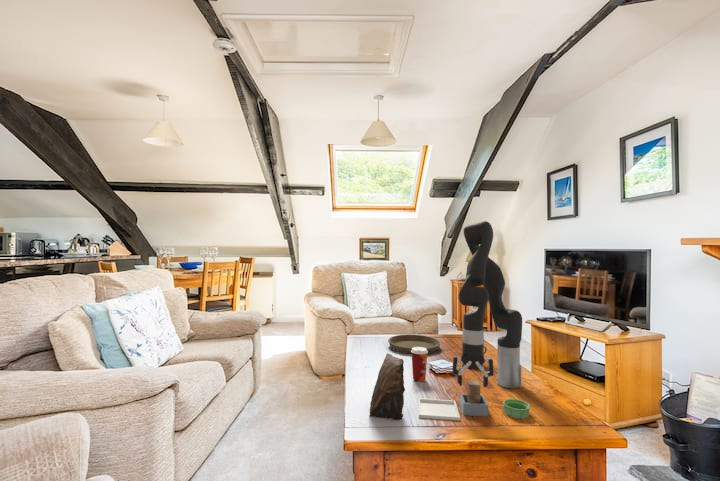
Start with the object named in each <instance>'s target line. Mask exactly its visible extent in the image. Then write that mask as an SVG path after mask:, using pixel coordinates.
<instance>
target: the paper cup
mask: <svg viewBox="0 0 720 481" xmlns="http://www.w3.org/2000/svg"><path fill="white" fill-rule="evenodd" d="M411 352H412V354H411V363H412V365H411V366H412V368H411V369H412V380H413V381H415V382H418V383H421V382H425V381H426V378H427V360H428V354H429V353H428V351H427V349H426V348H423V347H413V348H412V350H411Z"/></svg>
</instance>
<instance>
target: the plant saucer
mask: <svg viewBox="0 0 720 481" xmlns="http://www.w3.org/2000/svg"><path fill="white" fill-rule="evenodd" d="M388 344H389V345H390V346H391V348H392V349H393V350H395V351H396V352H399V353H402V352H403V353H404V354H409V355H412V352H411V350H412V348H413V347H423V348H426V349H427V351H428V353H427V354H431V353H434V352H436V351H437V349H439V347H440V345H441V341H440V340H438V339H437V338H435V337H431V336H428V335H423V334H398V335H394V336H391V337H390V338H388Z"/></svg>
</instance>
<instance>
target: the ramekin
mask: <svg viewBox="0 0 720 481" xmlns="http://www.w3.org/2000/svg"><path fill="white" fill-rule="evenodd" d="M530 409H531V405H530V404H529V403H528V402H526V401H524V400H521V399H516V398H510V399H509V398H507V399H505V400H503V410H504V413H505V414H506V415H507V416H509V417H512V418H515V419H526V418H529V417H530V416H529V415H530Z"/></svg>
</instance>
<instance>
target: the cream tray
mask: <svg viewBox="0 0 720 481" xmlns="http://www.w3.org/2000/svg"><path fill="white" fill-rule="evenodd" d="M417 408H418V419H420V418H421V419H431V420H447V421H461V415H460V412H459V408H458V406H457V403H456V400H450V399H439V398H438V399H435V398H421V397H419V398H417Z"/></svg>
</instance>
